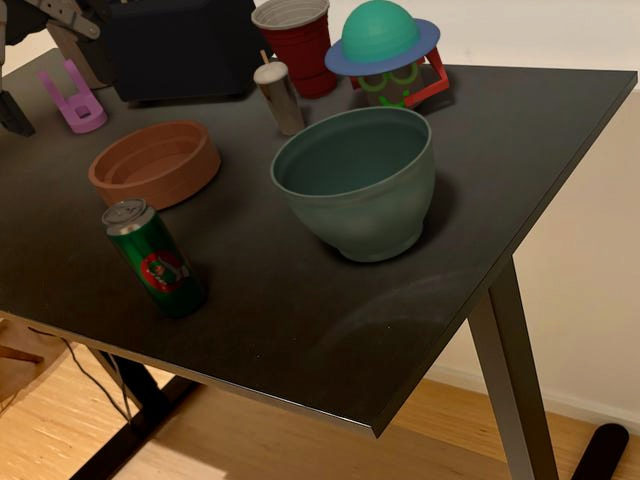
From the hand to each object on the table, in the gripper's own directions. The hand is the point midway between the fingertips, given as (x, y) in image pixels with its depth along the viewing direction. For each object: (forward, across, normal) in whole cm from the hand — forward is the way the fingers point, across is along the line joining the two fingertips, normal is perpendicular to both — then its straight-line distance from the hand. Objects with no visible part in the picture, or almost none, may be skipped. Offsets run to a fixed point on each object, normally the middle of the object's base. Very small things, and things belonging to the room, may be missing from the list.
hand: (69, 107), depth 61 cm
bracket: (+22, -24, -55) cm, 64 cm away
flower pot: (+22, -16, +14) cm, 31 cm away
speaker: (+22, -37, -40) cm, 59 cm away
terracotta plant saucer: (+22, -15, -23) cm, 35 cm away
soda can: (+22, +1, 0) cm, 22 cm away
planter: (+22, -36, -64) cm, 77 cm away
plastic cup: (+22, -41, -18) cm, 50 cm away
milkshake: (+22, -31, -14) cm, 41 cm away
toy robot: (+22, -39, -1) cm, 45 cm away
